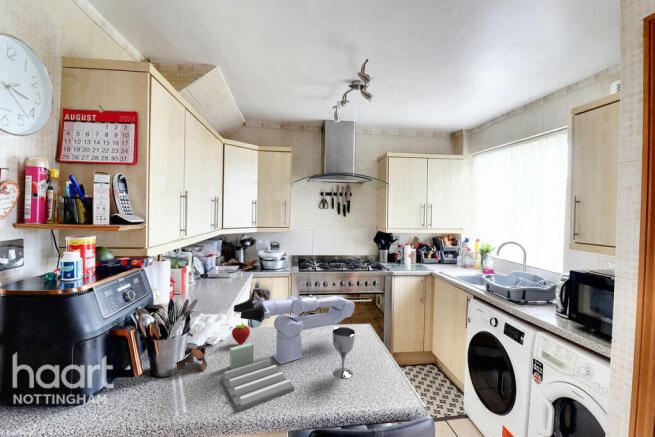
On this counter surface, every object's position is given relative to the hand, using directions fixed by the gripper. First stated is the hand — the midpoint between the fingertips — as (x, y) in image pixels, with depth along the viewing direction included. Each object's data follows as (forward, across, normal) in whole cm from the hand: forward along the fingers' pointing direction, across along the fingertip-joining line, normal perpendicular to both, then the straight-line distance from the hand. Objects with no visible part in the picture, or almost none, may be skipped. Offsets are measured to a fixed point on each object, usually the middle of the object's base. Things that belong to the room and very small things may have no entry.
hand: (237, 311), depth 100 cm
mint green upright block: (-5, -4, +21) cm, 22 cm away
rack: (-5, +11, +21) cm, 24 cm away
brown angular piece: (+10, -12, +23) cm, 28 cm away
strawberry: (-10, -20, +21) cm, 31 cm away
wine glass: (-33, +21, +19) cm, 43 cm away
